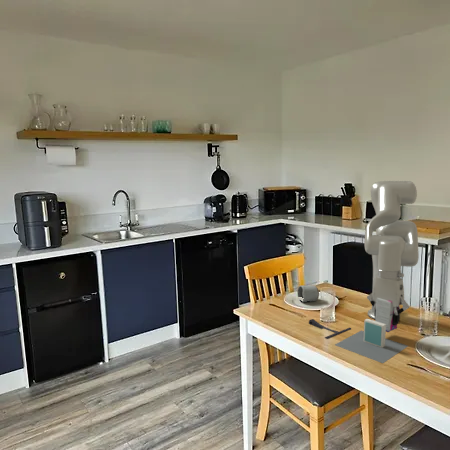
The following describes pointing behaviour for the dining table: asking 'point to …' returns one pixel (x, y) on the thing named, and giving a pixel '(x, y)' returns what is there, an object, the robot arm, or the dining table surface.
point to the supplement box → (385, 314)
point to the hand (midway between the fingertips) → (386, 321)
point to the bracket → (316, 324)
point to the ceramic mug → (308, 293)
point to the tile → (374, 332)
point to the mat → (371, 347)
